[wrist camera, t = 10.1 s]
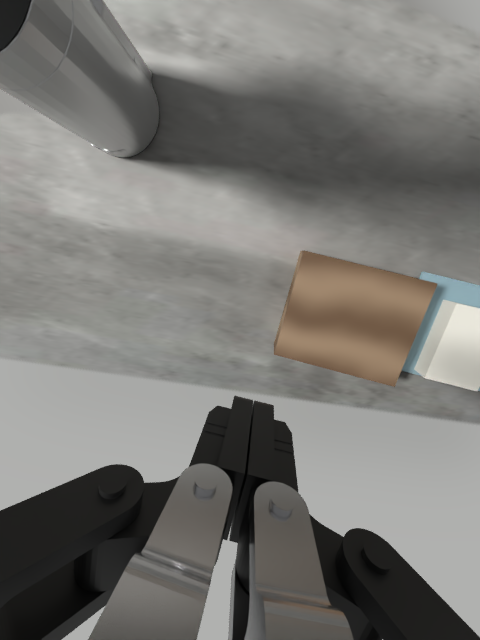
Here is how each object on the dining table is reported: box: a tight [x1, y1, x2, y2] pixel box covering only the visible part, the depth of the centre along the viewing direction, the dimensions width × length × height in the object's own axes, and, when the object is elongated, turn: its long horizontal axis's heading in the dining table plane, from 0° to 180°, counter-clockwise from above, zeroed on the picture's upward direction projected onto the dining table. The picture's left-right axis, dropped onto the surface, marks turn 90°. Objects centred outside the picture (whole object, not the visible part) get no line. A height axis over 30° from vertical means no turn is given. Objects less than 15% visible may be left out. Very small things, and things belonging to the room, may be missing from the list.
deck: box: [274, 251, 438, 387], centre depth 33 cm, size 12×14×4 cm
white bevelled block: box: [414, 299, 480, 391], centre depth 32 cm, size 9×6×2 cm, turn 167°
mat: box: [401, 272, 480, 391], centre depth 33 cm, size 12×12×1 cm
